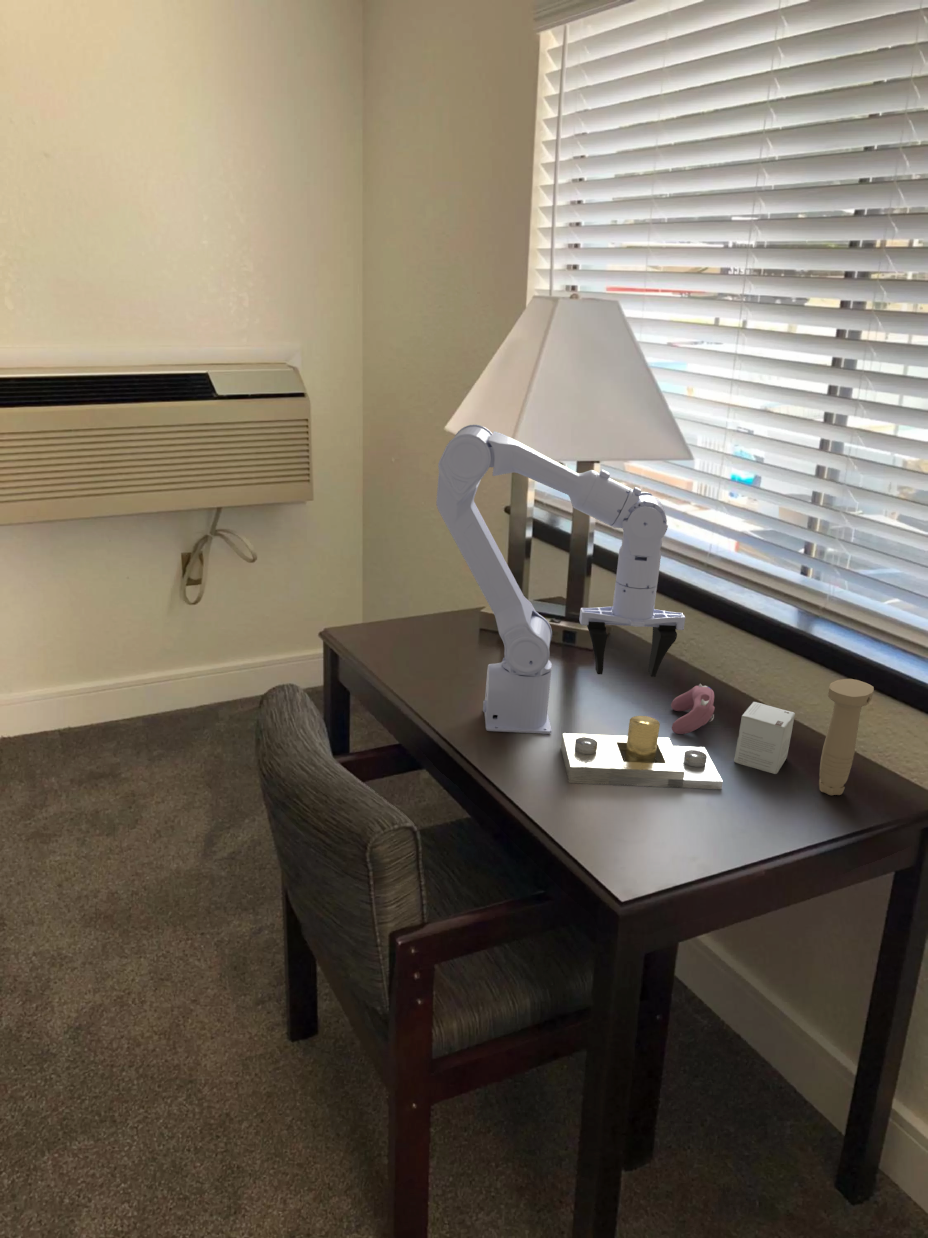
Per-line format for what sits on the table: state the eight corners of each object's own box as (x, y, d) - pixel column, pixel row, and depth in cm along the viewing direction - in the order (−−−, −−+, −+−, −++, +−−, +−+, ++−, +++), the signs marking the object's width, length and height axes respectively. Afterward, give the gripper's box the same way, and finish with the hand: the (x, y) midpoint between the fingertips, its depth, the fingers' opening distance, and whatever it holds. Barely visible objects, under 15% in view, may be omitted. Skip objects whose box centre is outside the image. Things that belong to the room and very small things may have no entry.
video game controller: (695, 747, 146) (723, 711, 143) (668, 731, 146) (696, 695, 143) (693, 720, 155) (719, 685, 152) (668, 704, 155) (694, 670, 152)
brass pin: (626, 775, 133) (632, 728, 131) (621, 761, 137) (627, 715, 135) (655, 776, 133) (662, 729, 131) (650, 762, 137) (656, 716, 135)
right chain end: (608, 784, 130) (610, 768, 130) (597, 750, 140) (599, 734, 139) (721, 789, 131) (724, 773, 130) (703, 754, 140) (705, 739, 139)
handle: (801, 790, 132) (821, 687, 127) (825, 776, 136) (846, 675, 131) (834, 805, 129) (857, 700, 124) (859, 791, 133) (881, 688, 128)
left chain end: (569, 783, 130) (571, 758, 129) (560, 748, 139) (563, 725, 138) (682, 787, 131) (686, 763, 130) (666, 753, 140) (670, 730, 139)
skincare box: (744, 747, 144) (752, 700, 141) (787, 758, 141) (796, 711, 138) (733, 763, 139) (741, 715, 136) (776, 775, 136) (785, 726, 133)
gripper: (588, 588, 134) (578, 681, 138) (694, 594, 134) (681, 686, 139) (581, 573, 140) (572, 662, 145) (683, 578, 141) (671, 667, 145)
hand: (625, 673), depth 142 cm, fingers open, 7 cm apart
